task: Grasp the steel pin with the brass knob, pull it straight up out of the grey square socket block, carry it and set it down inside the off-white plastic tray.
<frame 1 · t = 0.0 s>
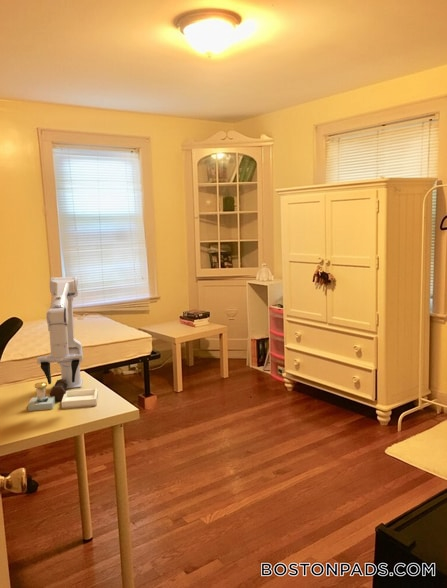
hand: (61, 382, 166), 10 cm above the table, tool pointing down, fingers open, 7 cm apart
dark brown faceted bar: (60, 394, 184), on the table, touching arm, grey square socket block, tray
tray: (80, 401, 176), on the table
pin: (41, 394, 172), in the grey square socket block
grey square socket block: (42, 405, 172), on the table
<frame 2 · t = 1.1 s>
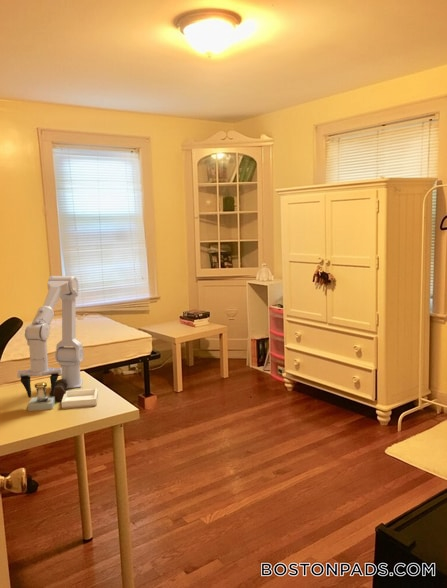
hand: (41, 395, 172), 4 cm above the table, tool pointing down, fingers open, 7 cm apart
nothing on the table moved.
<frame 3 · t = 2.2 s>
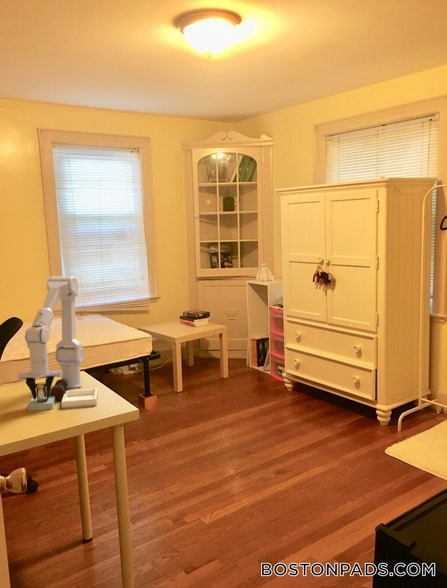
hand: (41, 397, 172), 3 cm above the table, tool pointing down, fingers closed on pin, 4 cm apart
pin: (41, 394, 172), in the grey square socket block, touching gripper
everything else where it was.
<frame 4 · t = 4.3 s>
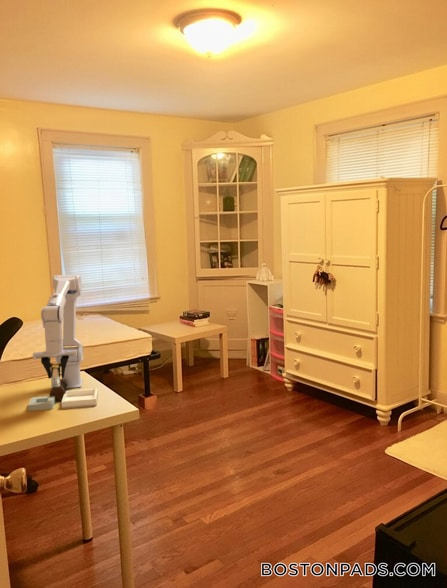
hand: (56, 377, 173), 10 cm above the table, tool pointing down, fingers closed on pin, 4 cm apart
pin: (55, 374, 172), point 11 cm above the table, touching gripper
everything else where it was.
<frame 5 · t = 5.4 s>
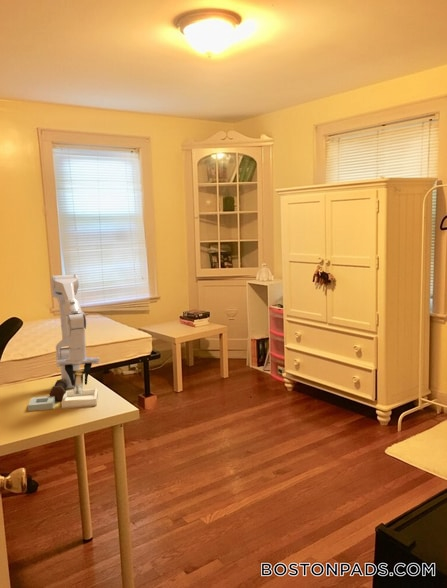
hand: (79, 384, 175), 6 cm above the table, tool pointing down, fingers closed on pin, 4 cm apart
pin: (78, 381, 175), point 7 cm above the table, tilted 5°, touching gripper
everything else where it was.
when the fingers open (5 cm above the table, at t = 6.5 s): pin drops 1 cm, resting on tray.
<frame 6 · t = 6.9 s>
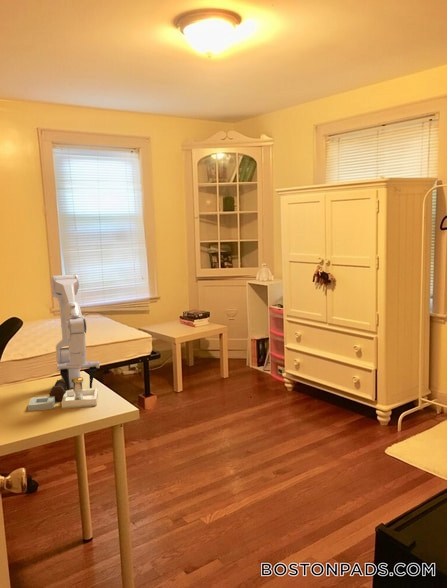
hand: (79, 388, 175), 5 cm above the table, tool pointing down, fingers open, 7 cm apart
pin: (78, 389, 175), in the tray, point 5 cm above the table
everything else where it was.
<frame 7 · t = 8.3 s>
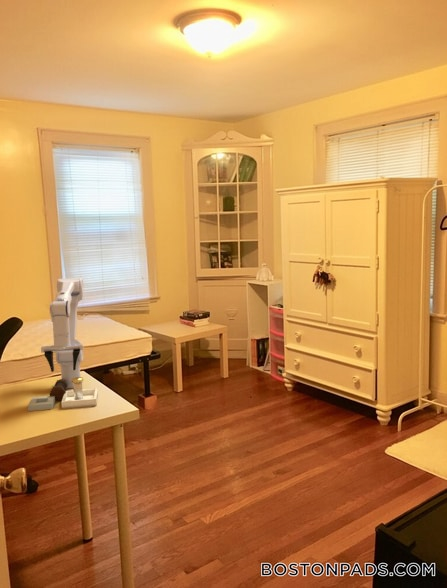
hand: (63, 370, 179), 10 cm above the table, tool pointing down, fingers open, 7 cm apart
nothing on the table moved.
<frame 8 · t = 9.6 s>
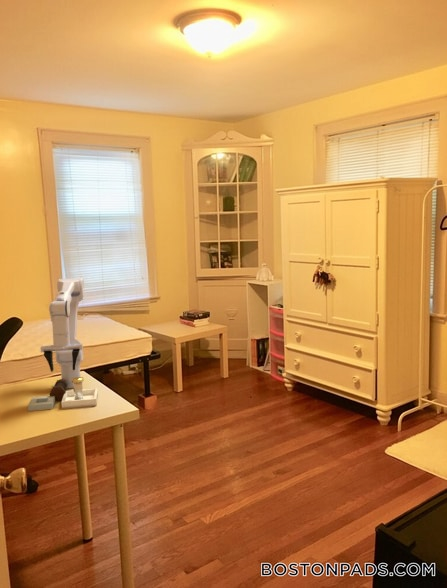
hand: (63, 370, 179), 10 cm above the table, tool pointing down, fingers open, 7 cm apart
nothing on the table moved.
at the end: pin inside the target area on the tray (0.6 cm from its centre), point 4.6 cm above the tray's base; the gripper is holding nothing; pin moved 12.4 cm from its start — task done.
